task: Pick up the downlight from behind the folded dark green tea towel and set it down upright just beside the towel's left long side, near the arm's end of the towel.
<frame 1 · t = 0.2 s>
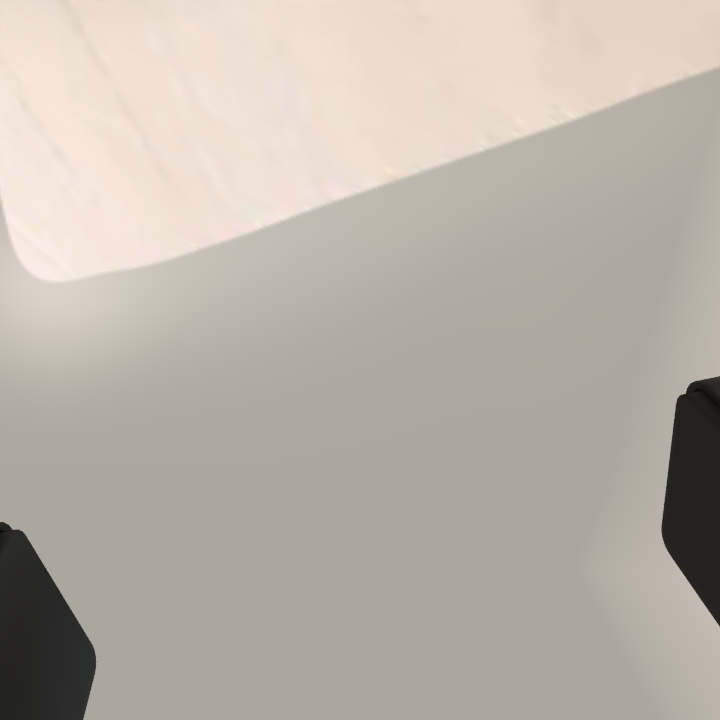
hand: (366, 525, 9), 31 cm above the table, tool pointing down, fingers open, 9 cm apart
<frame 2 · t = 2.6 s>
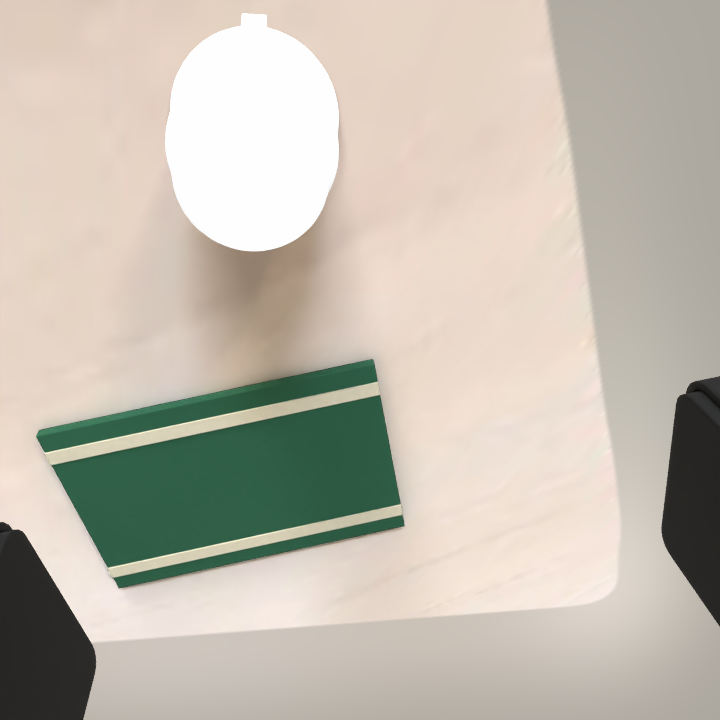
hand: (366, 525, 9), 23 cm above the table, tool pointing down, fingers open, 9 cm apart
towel: (236, 478, 37), on the table
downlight: (256, 116, 28), on the table
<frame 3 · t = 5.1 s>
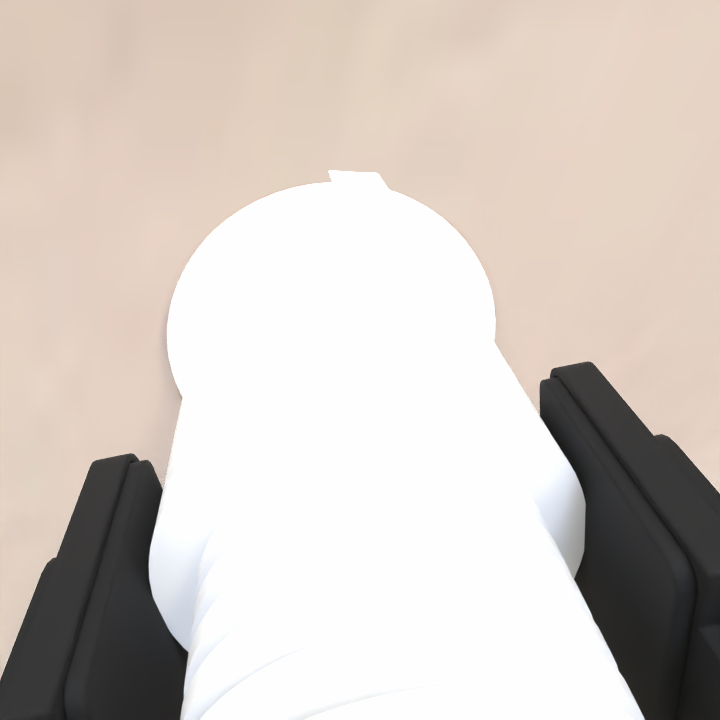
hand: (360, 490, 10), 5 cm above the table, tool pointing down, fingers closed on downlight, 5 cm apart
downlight: (333, 333, 14), on the table, touching gripper
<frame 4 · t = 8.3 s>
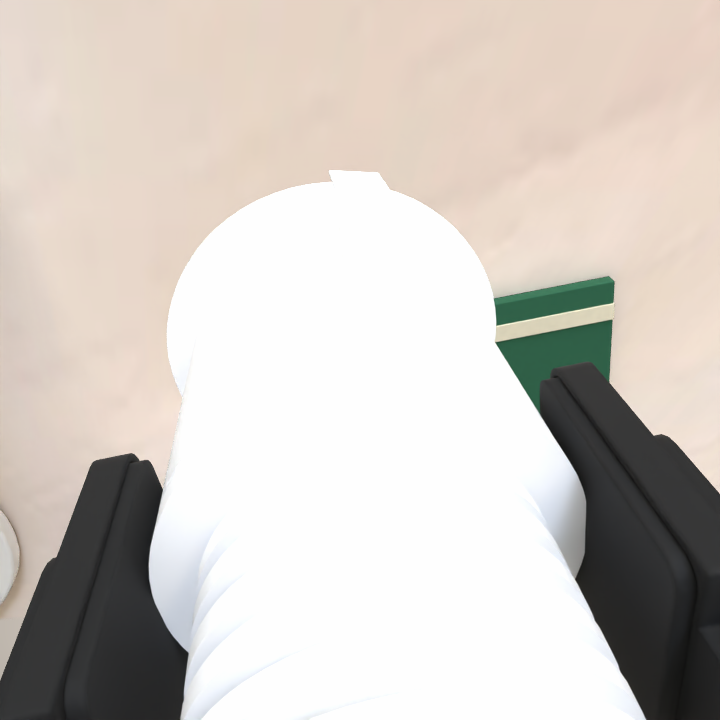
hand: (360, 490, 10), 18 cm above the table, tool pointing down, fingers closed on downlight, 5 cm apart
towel: (428, 418, 32), on the table
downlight: (333, 333, 14), point 13 cm above the table, touching gripper
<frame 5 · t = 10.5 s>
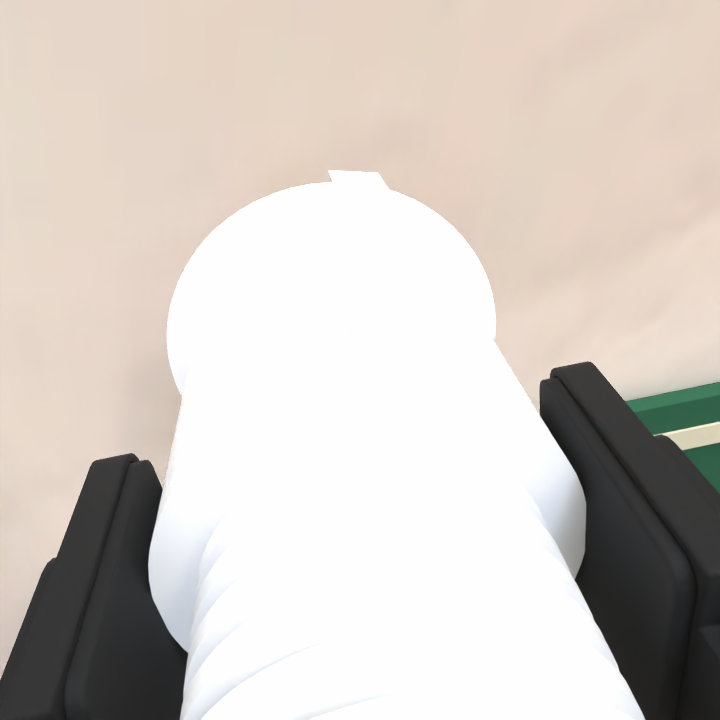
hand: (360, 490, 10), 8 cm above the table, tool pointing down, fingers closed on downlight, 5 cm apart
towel: (517, 555, 23), on the table
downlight: (333, 333, 14), point 3 cm above the table, touching gripper
when the fingers open (5 cm above the table, at t = 11.9 s): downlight stays where it is, on the table.
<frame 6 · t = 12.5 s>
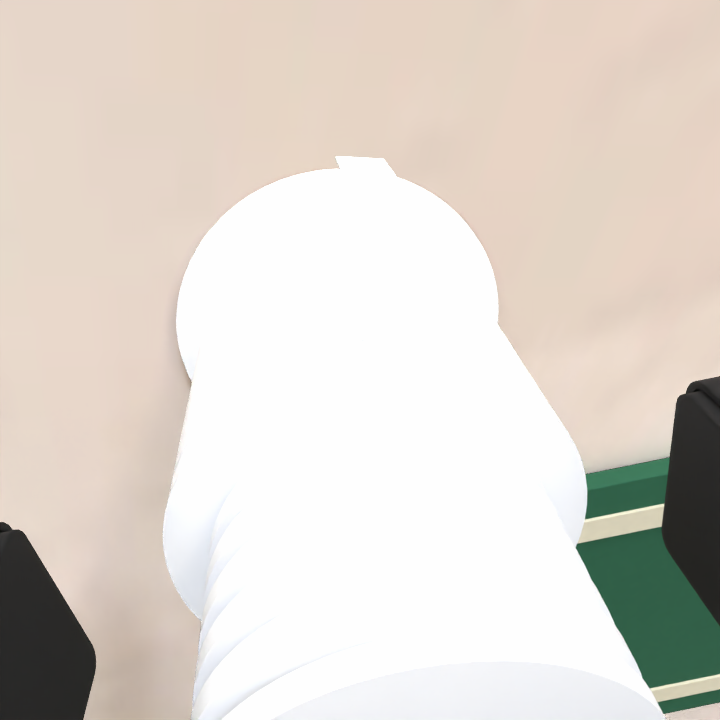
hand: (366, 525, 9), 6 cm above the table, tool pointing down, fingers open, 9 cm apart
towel: (554, 617, 21), on the table
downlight: (338, 319, 15), on the table
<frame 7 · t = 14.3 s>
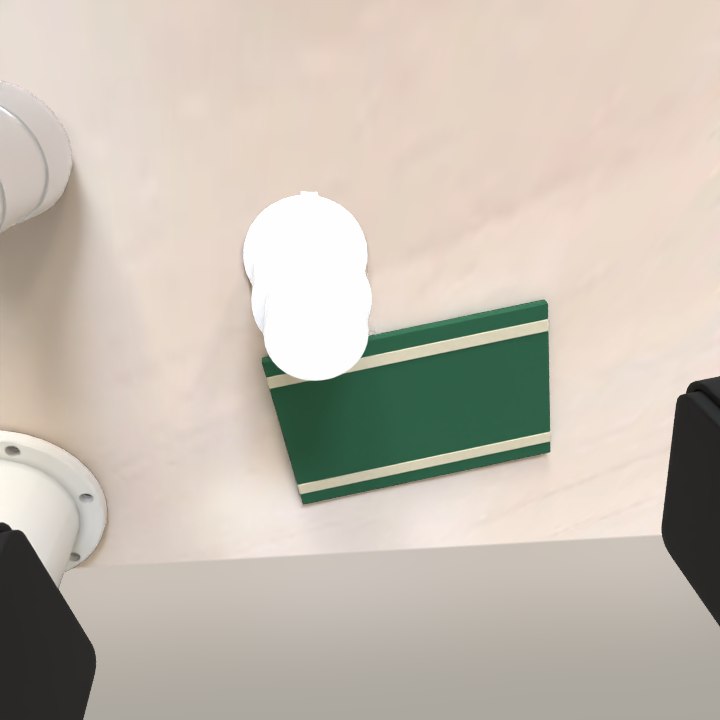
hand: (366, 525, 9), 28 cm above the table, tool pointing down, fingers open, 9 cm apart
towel: (415, 405, 43), on the table
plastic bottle: (12, 140, 32), on the table
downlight: (305, 253, 37), on the table
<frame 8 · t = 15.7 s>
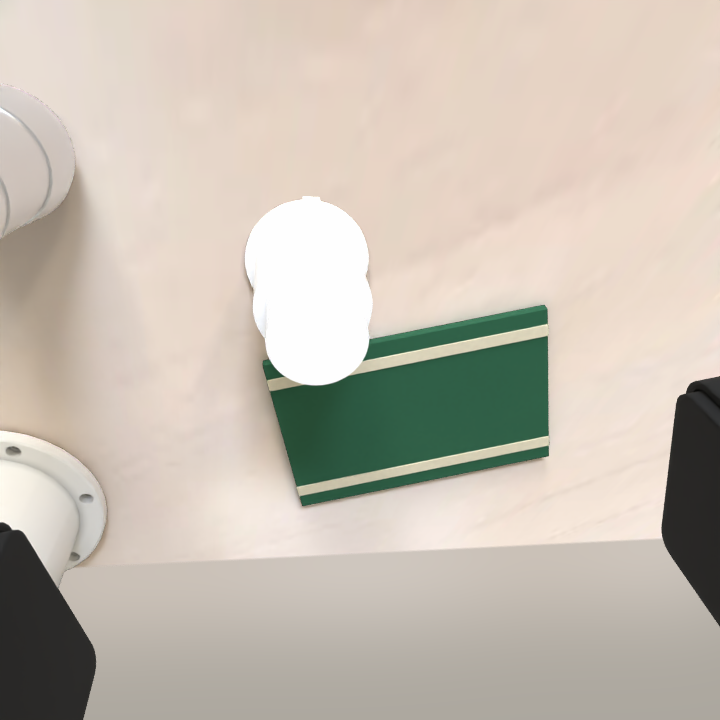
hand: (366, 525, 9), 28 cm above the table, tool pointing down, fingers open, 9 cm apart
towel: (414, 409, 43), on the table
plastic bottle: (16, 142, 32), on the table
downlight: (306, 257, 37), on the table
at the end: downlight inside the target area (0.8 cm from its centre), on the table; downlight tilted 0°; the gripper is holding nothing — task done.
